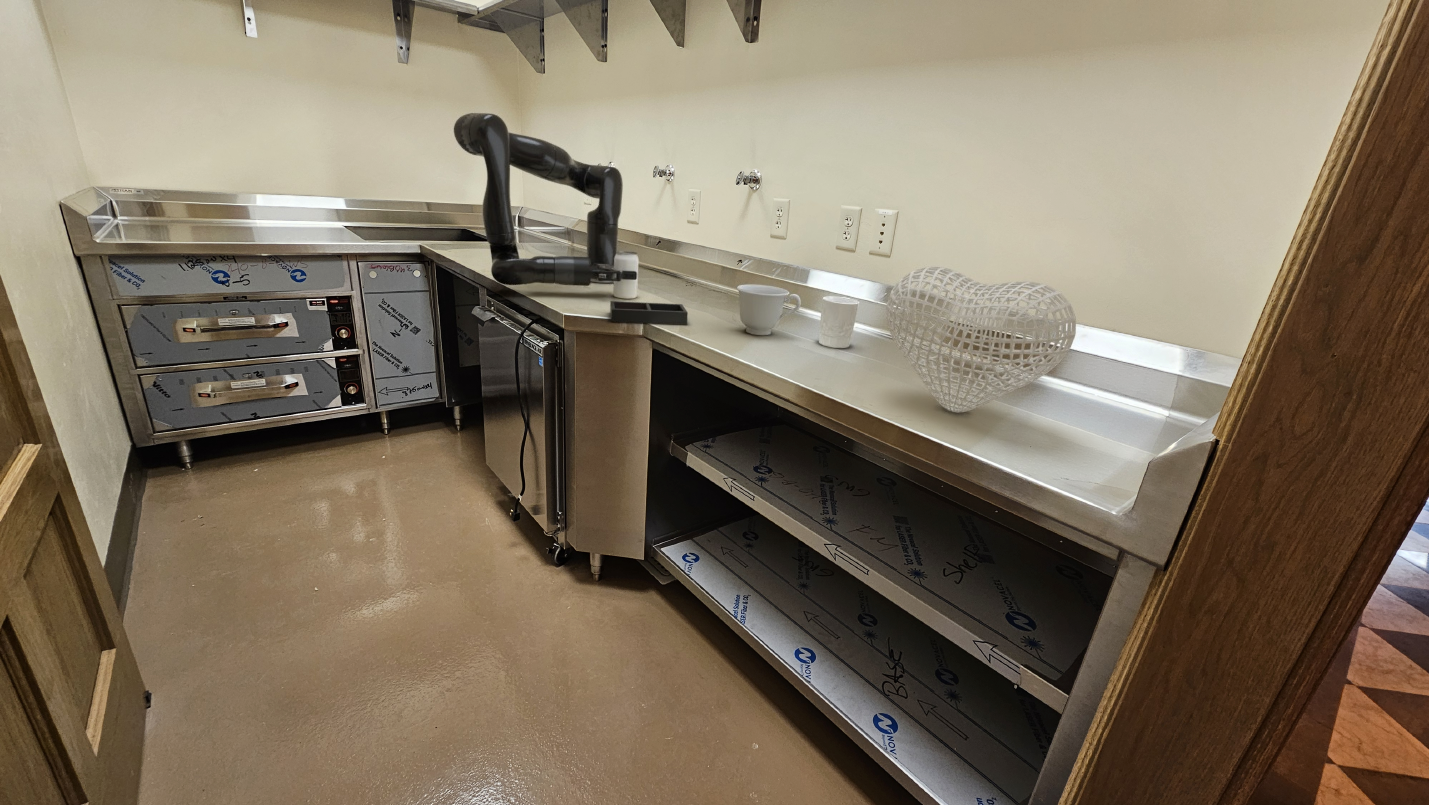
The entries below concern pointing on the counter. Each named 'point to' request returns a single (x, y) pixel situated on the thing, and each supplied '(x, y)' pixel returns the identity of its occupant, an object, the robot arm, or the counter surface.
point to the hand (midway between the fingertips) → (634, 273)
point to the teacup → (763, 307)
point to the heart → (992, 289)
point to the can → (626, 263)
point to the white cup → (837, 321)
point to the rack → (648, 313)
